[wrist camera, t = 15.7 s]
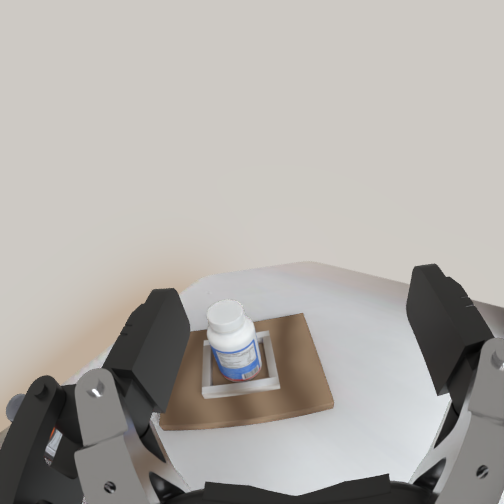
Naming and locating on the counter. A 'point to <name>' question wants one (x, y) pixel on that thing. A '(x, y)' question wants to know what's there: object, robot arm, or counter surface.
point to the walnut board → (250, 381)
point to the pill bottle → (233, 341)
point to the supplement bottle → (55, 435)
